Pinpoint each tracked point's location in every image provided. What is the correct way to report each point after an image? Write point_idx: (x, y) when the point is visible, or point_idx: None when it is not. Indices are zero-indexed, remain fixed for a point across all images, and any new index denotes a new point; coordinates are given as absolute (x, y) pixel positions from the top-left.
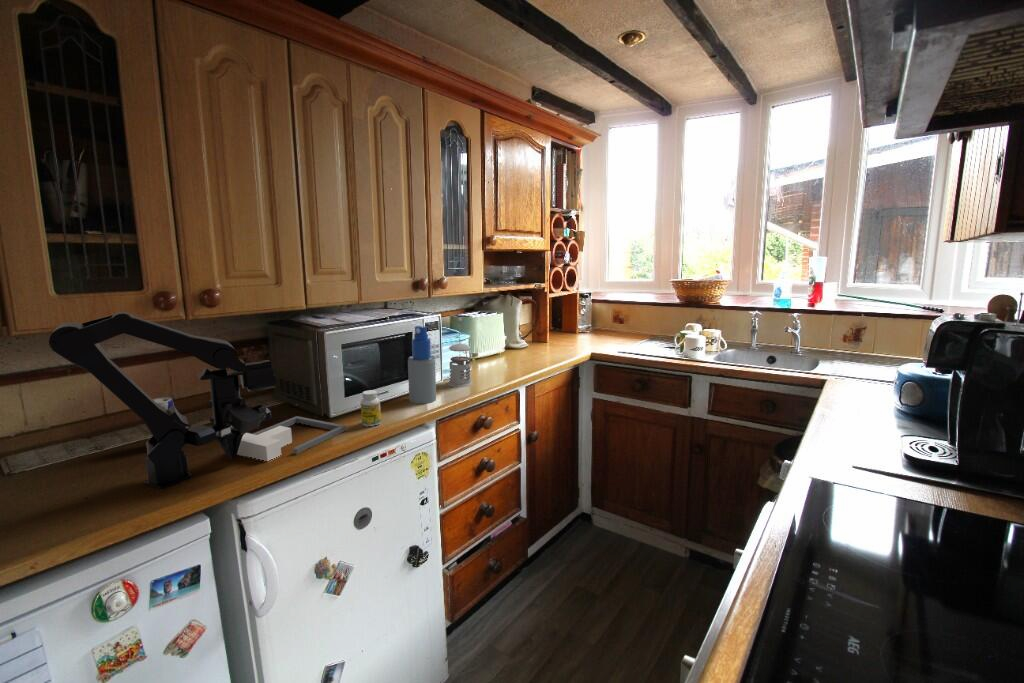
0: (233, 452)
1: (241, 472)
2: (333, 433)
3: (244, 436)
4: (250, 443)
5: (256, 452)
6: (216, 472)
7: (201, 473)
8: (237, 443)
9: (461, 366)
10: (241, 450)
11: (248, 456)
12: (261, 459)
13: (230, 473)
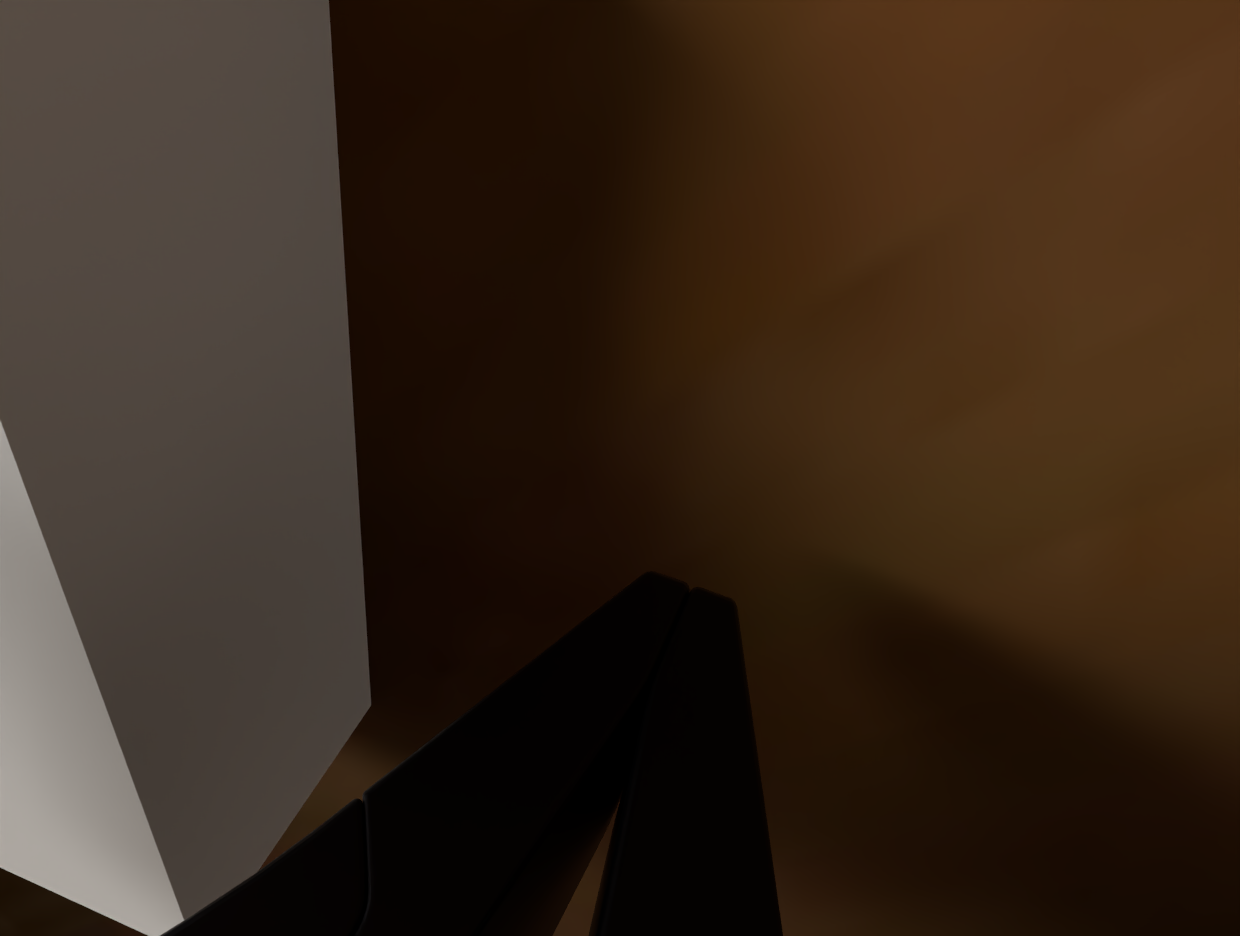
0: (676, 729)
1: (1169, 31)
2: None
3: (6, 806)
4: (79, 562)
5: (217, 247)
6: (1146, 650)
7: (1189, 852)
8: (413, 905)
9: None
10: (301, 629)
11: (344, 429)
12: (310, 17)
13: (1233, 327)
